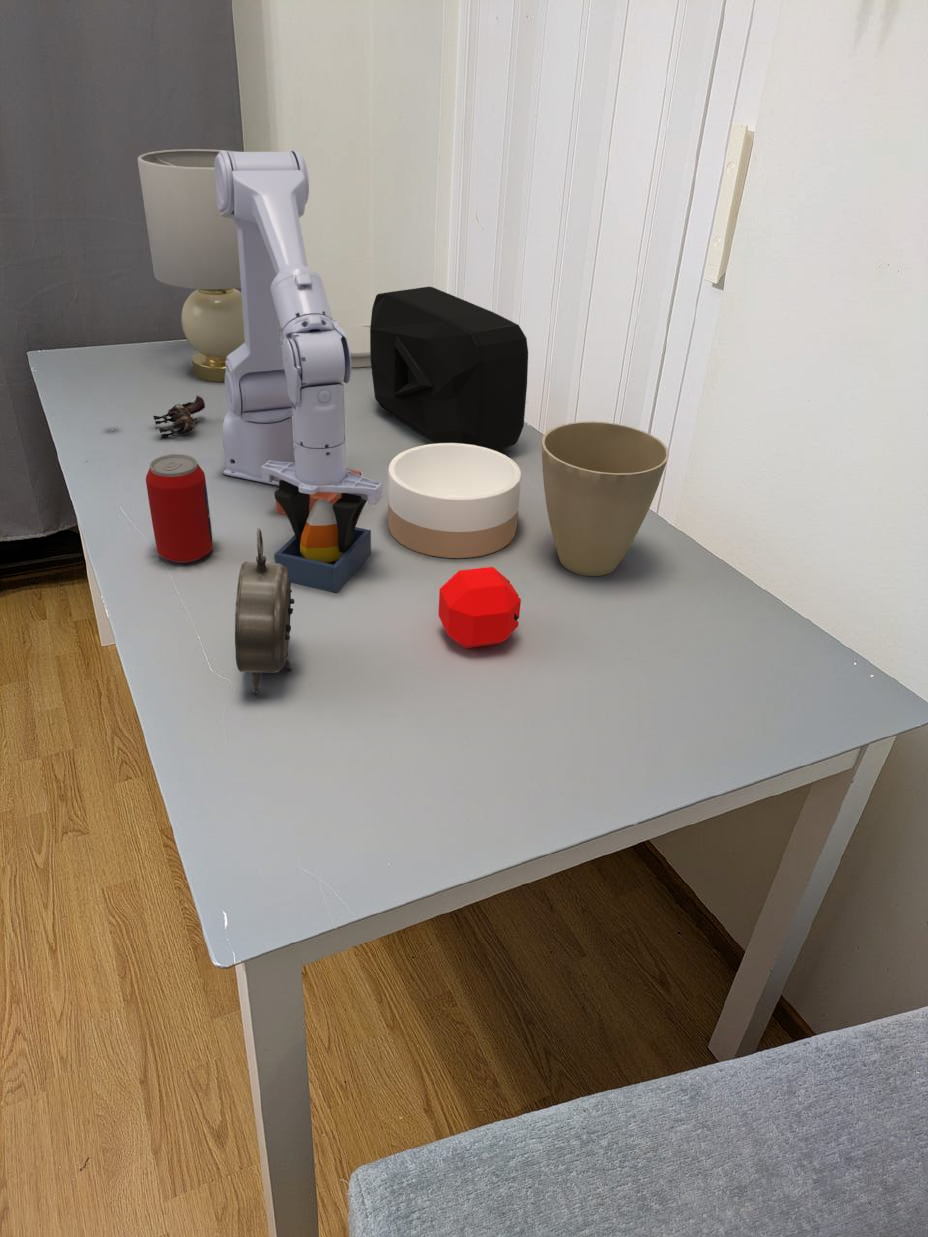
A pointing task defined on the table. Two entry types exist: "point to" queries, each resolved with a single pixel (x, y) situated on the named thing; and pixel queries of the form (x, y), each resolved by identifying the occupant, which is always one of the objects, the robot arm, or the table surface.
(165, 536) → the beverage can
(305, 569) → the slate bin
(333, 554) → the candy corn
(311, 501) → the terracotta bin
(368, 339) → the lid
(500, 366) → the black hard case
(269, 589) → the alarm clock
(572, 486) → the plant pot
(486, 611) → the ball
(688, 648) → the table surface
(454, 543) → the bowl
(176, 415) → the horse figurine
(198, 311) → the lamp
